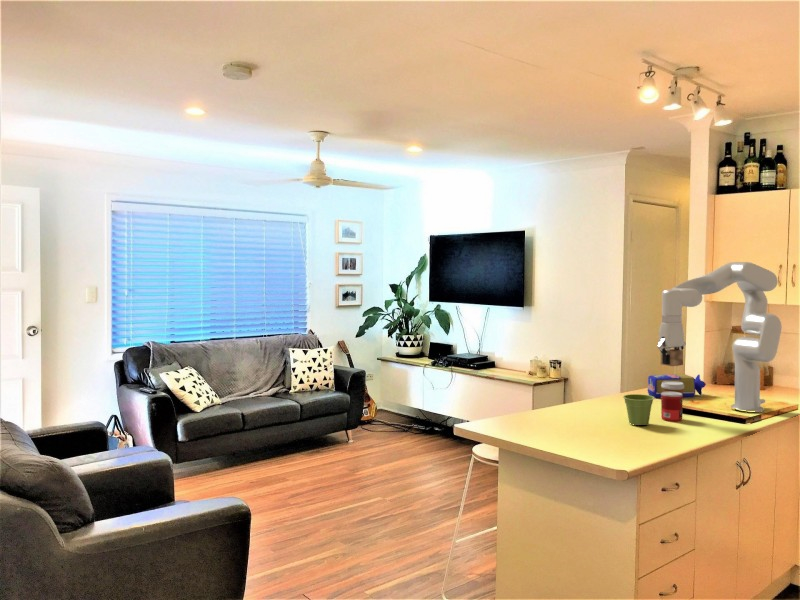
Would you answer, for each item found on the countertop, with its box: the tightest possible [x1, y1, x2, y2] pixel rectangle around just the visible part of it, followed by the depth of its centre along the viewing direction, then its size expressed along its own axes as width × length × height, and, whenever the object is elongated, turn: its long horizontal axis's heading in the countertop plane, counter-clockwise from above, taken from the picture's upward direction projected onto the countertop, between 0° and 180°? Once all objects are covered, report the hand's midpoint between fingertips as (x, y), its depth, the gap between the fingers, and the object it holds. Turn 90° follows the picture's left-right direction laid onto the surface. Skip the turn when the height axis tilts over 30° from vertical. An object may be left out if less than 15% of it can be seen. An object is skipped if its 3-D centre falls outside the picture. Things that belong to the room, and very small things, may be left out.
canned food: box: [660, 392, 683, 423], centre depth 260 cm, size 8×8×11 cm
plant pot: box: [622, 393, 655, 426], centre depth 254 cm, size 12×12×11 cm
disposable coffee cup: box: [661, 381, 685, 395], centre depth 276 cm, size 10×10×12 cm
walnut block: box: [660, 348, 684, 367], centre depth 258 cm, size 6×6×6 cm
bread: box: [647, 373, 707, 399], centre depth 303 cm, size 10×25×10 cm, turn 91°
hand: (671, 363), depth 259 cm, fingers closed on walnut block, 6 cm apart
